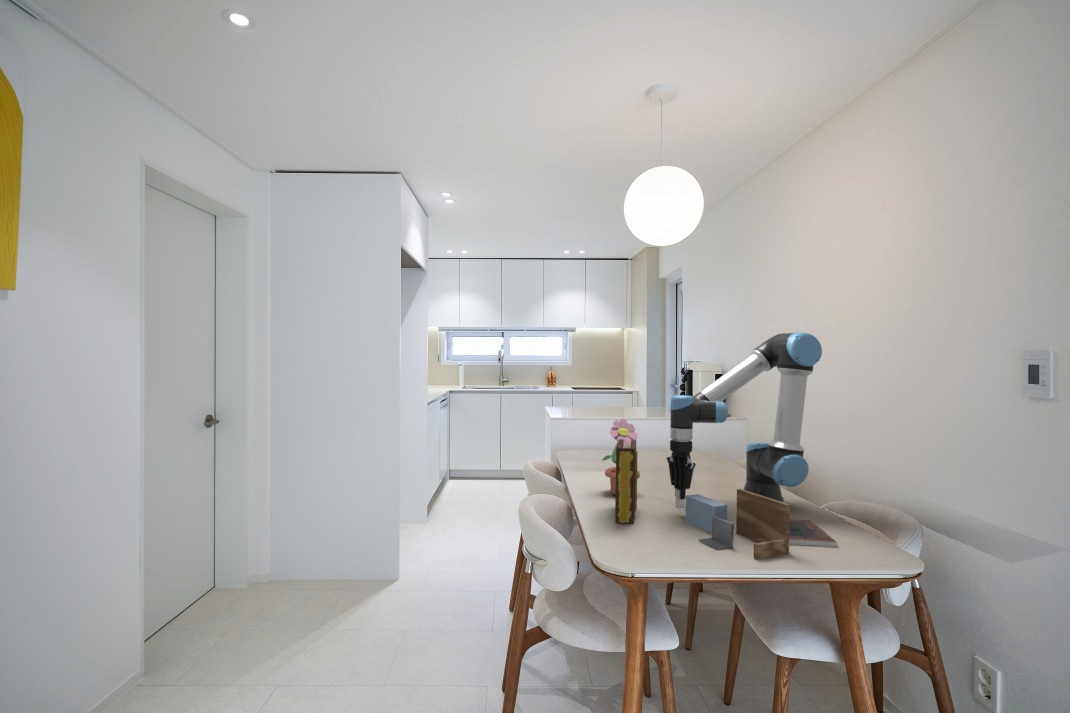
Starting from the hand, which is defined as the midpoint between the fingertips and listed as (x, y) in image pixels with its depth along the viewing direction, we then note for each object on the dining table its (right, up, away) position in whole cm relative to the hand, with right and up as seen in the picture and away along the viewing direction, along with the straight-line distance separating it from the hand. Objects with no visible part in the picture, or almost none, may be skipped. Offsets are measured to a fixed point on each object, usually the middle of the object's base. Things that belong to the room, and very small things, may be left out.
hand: (680, 507), depth 190 cm
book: (-19, -3, +1) cm, 19 cm away
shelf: (+12, -3, -28) cm, 31 cm away
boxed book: (+5, -3, -12) cm, 13 cm away
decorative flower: (-16, -3, +28) cm, 32 cm away
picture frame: (+32, -5, -17) cm, 37 cm away
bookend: (+3, -3, -28) cm, 28 cm away
